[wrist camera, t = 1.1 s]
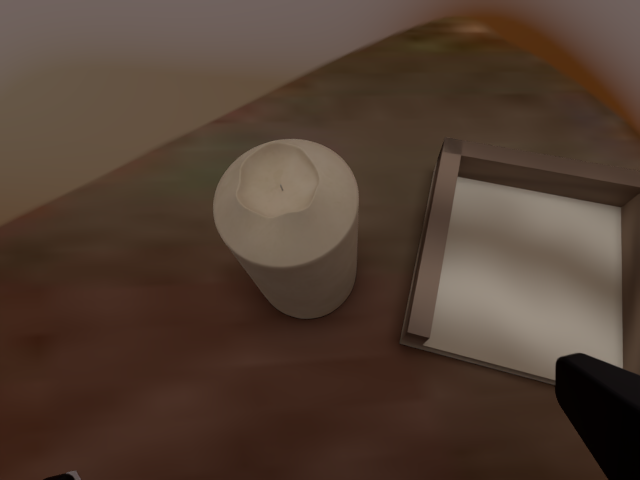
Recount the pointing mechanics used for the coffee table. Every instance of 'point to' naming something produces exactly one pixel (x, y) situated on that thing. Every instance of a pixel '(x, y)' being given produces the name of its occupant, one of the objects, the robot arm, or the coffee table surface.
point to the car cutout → (74, 475)
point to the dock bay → (527, 261)
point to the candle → (292, 224)
